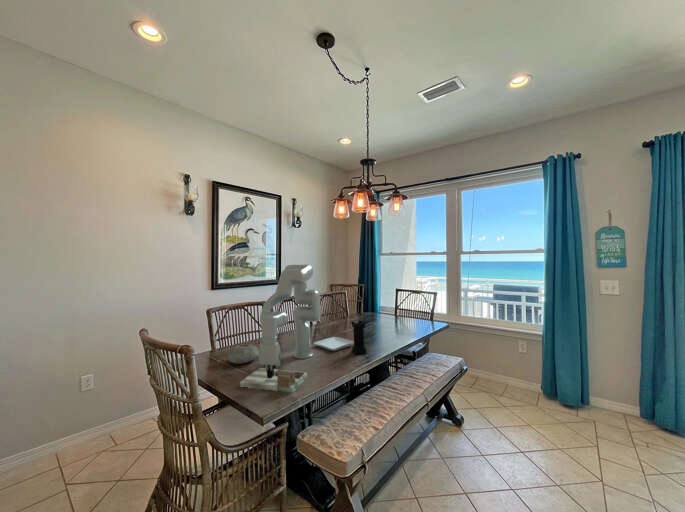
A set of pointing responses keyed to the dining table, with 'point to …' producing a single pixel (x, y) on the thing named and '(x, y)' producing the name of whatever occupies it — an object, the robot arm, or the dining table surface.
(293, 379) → the walnut block
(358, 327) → the chess piece
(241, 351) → the grey stone
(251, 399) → the dining table surface
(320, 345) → the salad plate
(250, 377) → the trap box
